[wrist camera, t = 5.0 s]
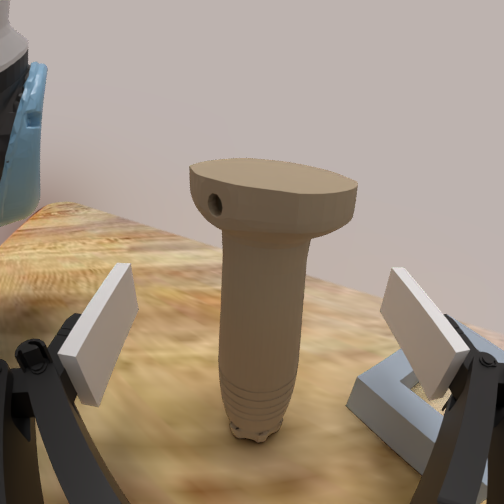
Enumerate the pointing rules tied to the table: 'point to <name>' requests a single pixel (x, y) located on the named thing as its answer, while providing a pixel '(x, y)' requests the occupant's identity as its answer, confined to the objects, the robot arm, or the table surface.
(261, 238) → the handle
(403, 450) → the socket block
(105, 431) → the table surface
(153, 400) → the table surface
